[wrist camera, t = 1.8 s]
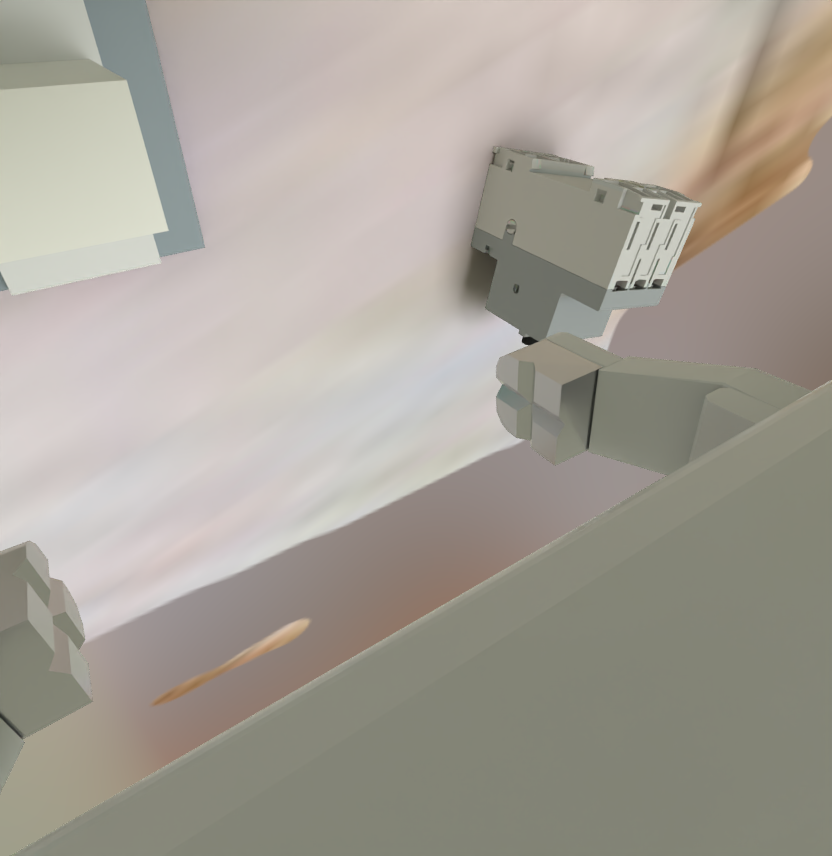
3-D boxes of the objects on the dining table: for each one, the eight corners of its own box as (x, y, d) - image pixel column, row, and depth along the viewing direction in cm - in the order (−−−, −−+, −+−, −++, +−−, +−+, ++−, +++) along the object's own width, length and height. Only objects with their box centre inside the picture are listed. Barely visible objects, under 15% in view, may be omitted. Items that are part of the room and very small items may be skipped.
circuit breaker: (455, 309, 53) (571, 385, 44) (493, 146, 46) (643, 193, 36) (511, 305, 57) (628, 373, 48) (555, 155, 50) (703, 199, 40)
